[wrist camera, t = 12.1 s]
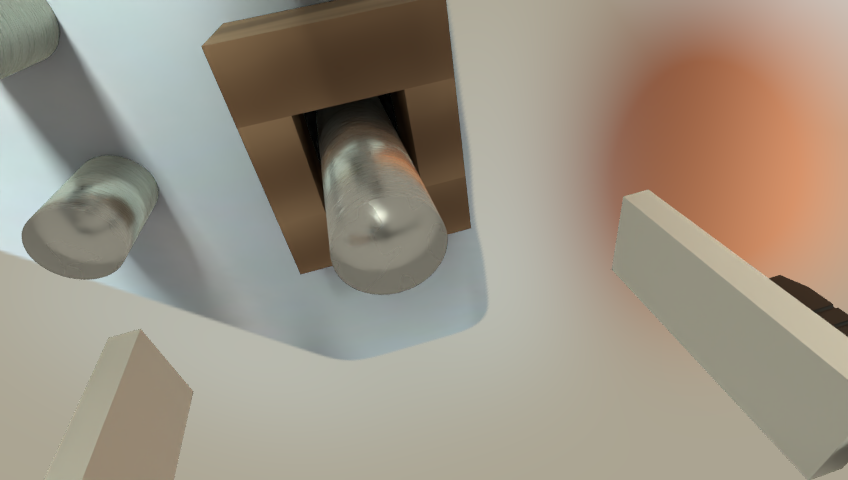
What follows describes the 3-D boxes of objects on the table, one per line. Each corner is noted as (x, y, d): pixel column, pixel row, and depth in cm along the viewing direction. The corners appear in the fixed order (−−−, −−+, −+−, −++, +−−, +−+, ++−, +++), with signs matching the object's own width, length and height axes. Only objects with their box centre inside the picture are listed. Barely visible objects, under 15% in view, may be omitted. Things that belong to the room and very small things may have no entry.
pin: (306, 90, 24) (313, 215, 13) (375, 74, 25) (439, 182, 14) (326, 154, 27) (347, 306, 15) (389, 139, 27) (453, 277, 16)
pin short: (60, 164, 24) (-1, 221, 19) (135, 147, 24) (94, 198, 19) (103, 224, 26) (58, 288, 21) (171, 208, 26) (142, 266, 21)
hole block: (223, 23, 22) (201, 46, 17) (414, -17, 23) (445, -6, 18) (300, 219, 29) (300, 274, 24) (443, 182, 30) (471, 228, 25)
